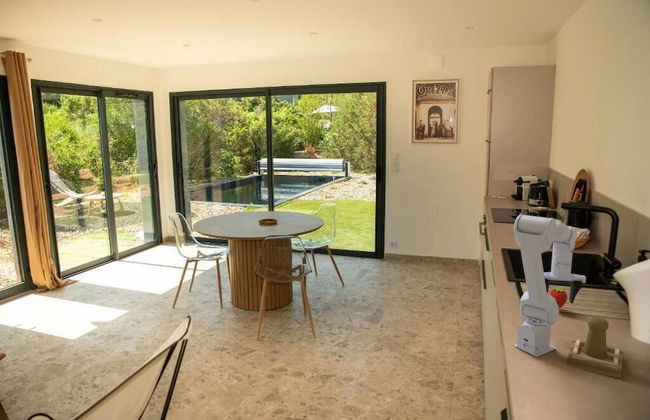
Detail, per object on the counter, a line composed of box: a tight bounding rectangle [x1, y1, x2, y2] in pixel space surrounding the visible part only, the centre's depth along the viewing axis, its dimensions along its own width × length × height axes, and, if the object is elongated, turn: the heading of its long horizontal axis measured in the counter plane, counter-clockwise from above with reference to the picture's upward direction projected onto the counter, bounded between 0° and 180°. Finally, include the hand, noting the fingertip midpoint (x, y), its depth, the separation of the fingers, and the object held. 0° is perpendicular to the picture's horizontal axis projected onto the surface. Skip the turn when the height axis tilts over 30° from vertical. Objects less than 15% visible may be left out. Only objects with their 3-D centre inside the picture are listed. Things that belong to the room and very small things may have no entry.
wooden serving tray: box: [566, 339, 624, 379], centre depth 128 cm, size 13×13×3 cm
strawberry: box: [548, 286, 568, 310], centre depth 164 cm, size 6×8×10 cm
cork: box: [583, 316, 609, 359], centre depth 128 cm, size 6×6×11 cm
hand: (558, 301), depth 146 cm, fingers open, 7 cm apart
